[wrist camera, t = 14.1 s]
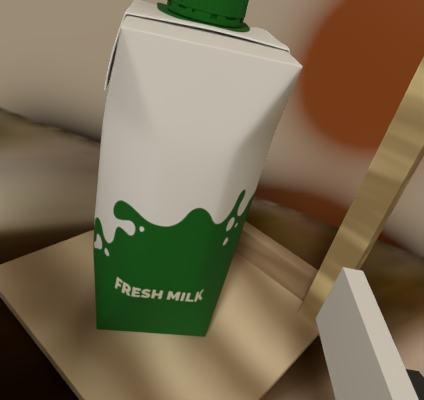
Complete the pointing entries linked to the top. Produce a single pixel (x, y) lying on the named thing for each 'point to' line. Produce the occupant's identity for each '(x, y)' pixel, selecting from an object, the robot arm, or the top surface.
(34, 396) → the top surface
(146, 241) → the fresh milk carton
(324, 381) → the top surface
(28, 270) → the wooden frame stand
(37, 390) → the top surface
